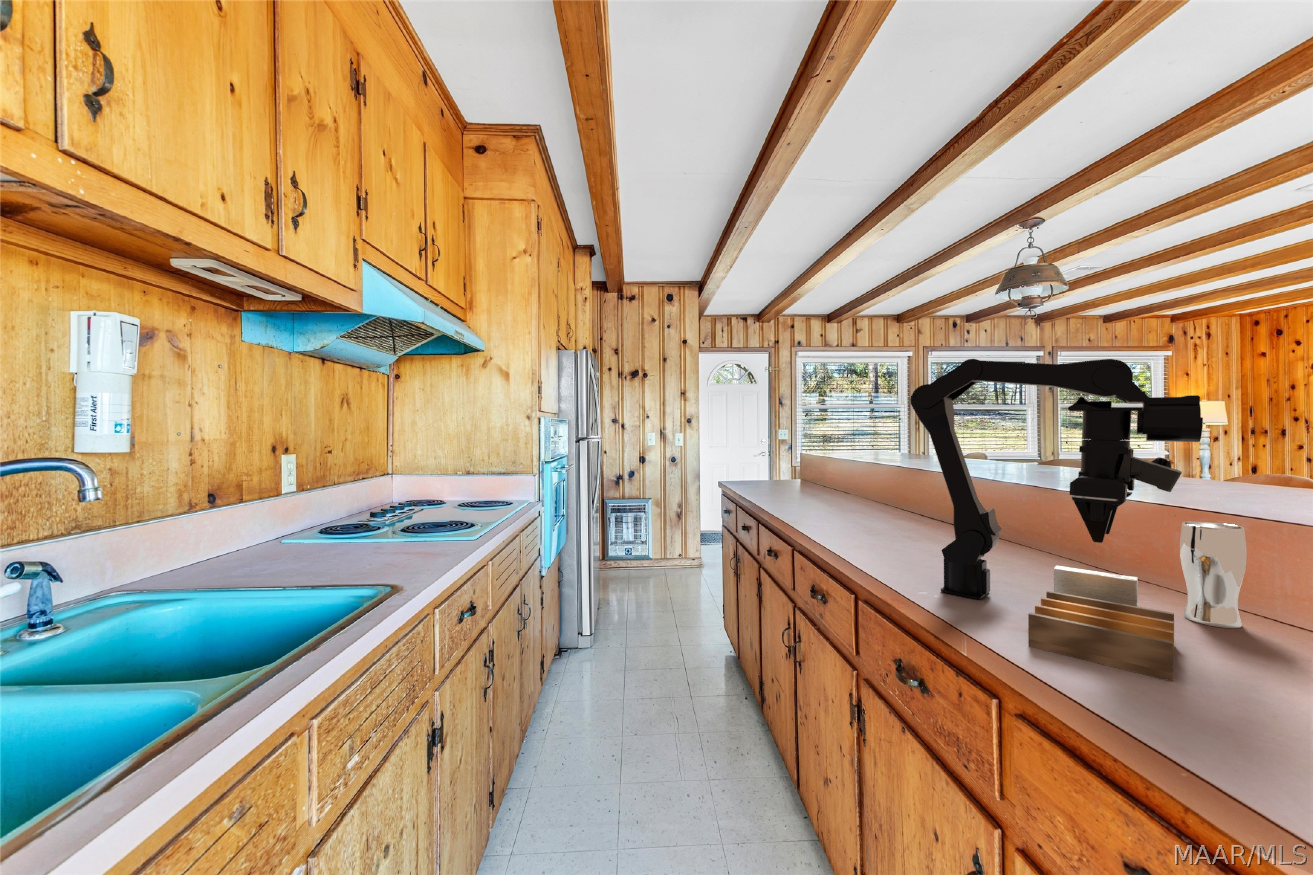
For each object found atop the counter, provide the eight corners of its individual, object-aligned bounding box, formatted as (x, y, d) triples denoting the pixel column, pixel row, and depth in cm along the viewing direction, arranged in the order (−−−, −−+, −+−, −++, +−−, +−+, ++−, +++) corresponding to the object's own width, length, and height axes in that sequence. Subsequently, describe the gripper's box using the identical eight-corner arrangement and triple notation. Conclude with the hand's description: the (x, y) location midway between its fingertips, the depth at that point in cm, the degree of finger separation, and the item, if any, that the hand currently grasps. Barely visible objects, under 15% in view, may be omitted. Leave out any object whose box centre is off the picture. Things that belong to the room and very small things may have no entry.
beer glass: (1191, 624, 77) (1191, 526, 77) (1171, 610, 83) (1171, 519, 83) (1257, 632, 74) (1257, 530, 73) (1231, 617, 80) (1231, 522, 80)
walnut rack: (1028, 646, 70) (1028, 613, 70) (1047, 618, 80) (1047, 590, 80) (1172, 681, 60) (1172, 643, 60) (1174, 645, 70) (1174, 612, 70)
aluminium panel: (1053, 610, 84) (1053, 568, 84) (1056, 606, 86) (1056, 565, 86) (1136, 626, 77) (1136, 580, 77) (1137, 622, 78) (1137, 577, 78)
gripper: (1177, 443, 67) (1172, 558, 68) (1179, 440, 80) (1175, 538, 81) (1070, 440, 76) (1067, 543, 76) (1087, 438, 88) (1084, 527, 89)
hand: (1101, 537), depth 80 cm, fingers open, 9 cm apart
